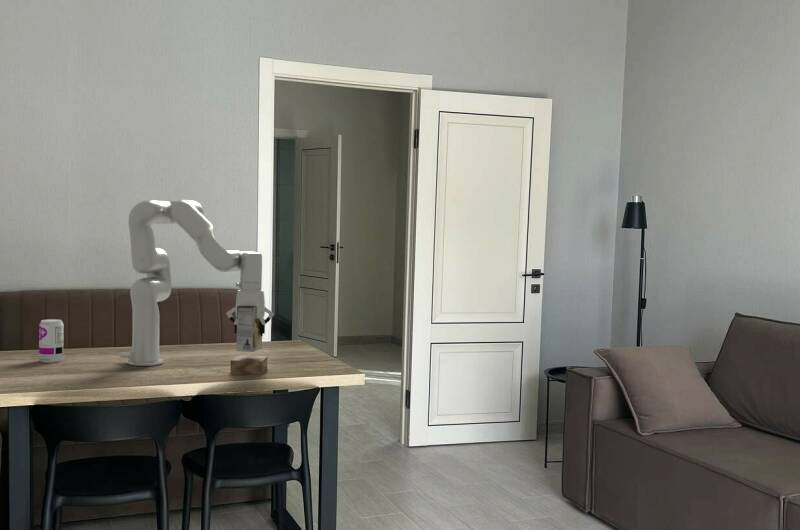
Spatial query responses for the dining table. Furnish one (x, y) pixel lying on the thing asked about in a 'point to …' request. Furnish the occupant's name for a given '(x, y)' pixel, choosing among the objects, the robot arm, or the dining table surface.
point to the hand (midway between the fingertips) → (249, 335)
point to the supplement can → (51, 340)
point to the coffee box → (248, 329)
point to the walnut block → (249, 364)
